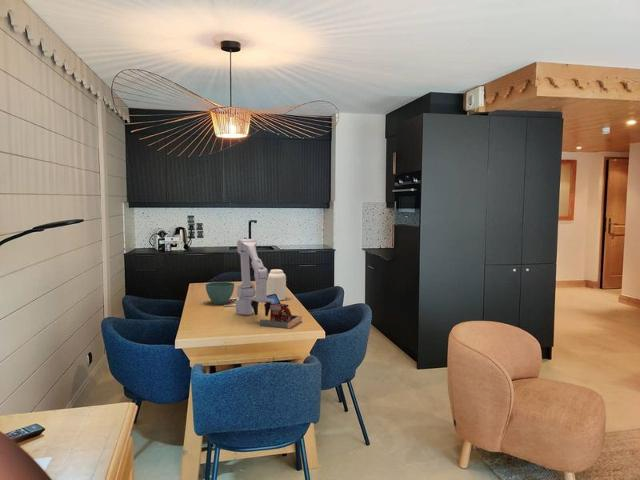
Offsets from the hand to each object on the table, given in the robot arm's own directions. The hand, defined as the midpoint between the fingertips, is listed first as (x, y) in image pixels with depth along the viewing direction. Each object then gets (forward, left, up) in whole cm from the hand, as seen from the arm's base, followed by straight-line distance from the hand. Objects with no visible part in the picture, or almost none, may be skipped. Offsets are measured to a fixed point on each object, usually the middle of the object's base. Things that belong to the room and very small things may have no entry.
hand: (261, 315), depth 263 cm
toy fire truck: (+11, 0, -4) cm, 12 cm away
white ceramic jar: (-18, +58, -4) cm, 61 cm away
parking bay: (+11, 0, -3) cm, 12 cm away
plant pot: (-47, +34, -4) cm, 58 cm away
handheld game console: (-8, +36, -4) cm, 37 cm away
